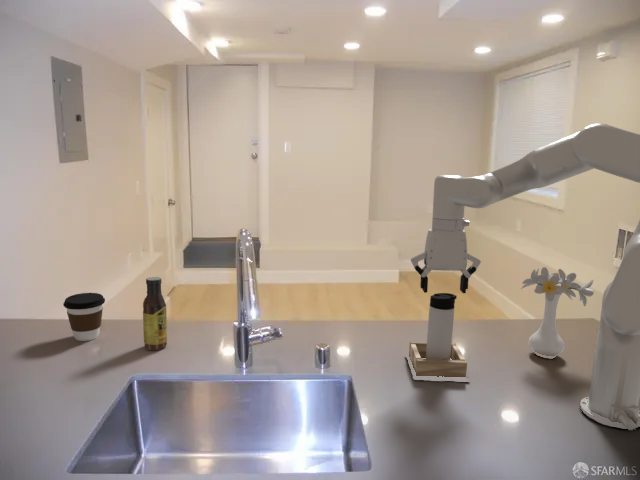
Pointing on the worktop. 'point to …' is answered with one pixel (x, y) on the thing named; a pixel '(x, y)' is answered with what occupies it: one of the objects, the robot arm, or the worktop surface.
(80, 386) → the worktop surface
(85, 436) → the worktop surface
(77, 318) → the coffee cup
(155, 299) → the sauce bottle
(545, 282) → the flower vase
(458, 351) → the wooden square tray
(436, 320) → the travel mug
